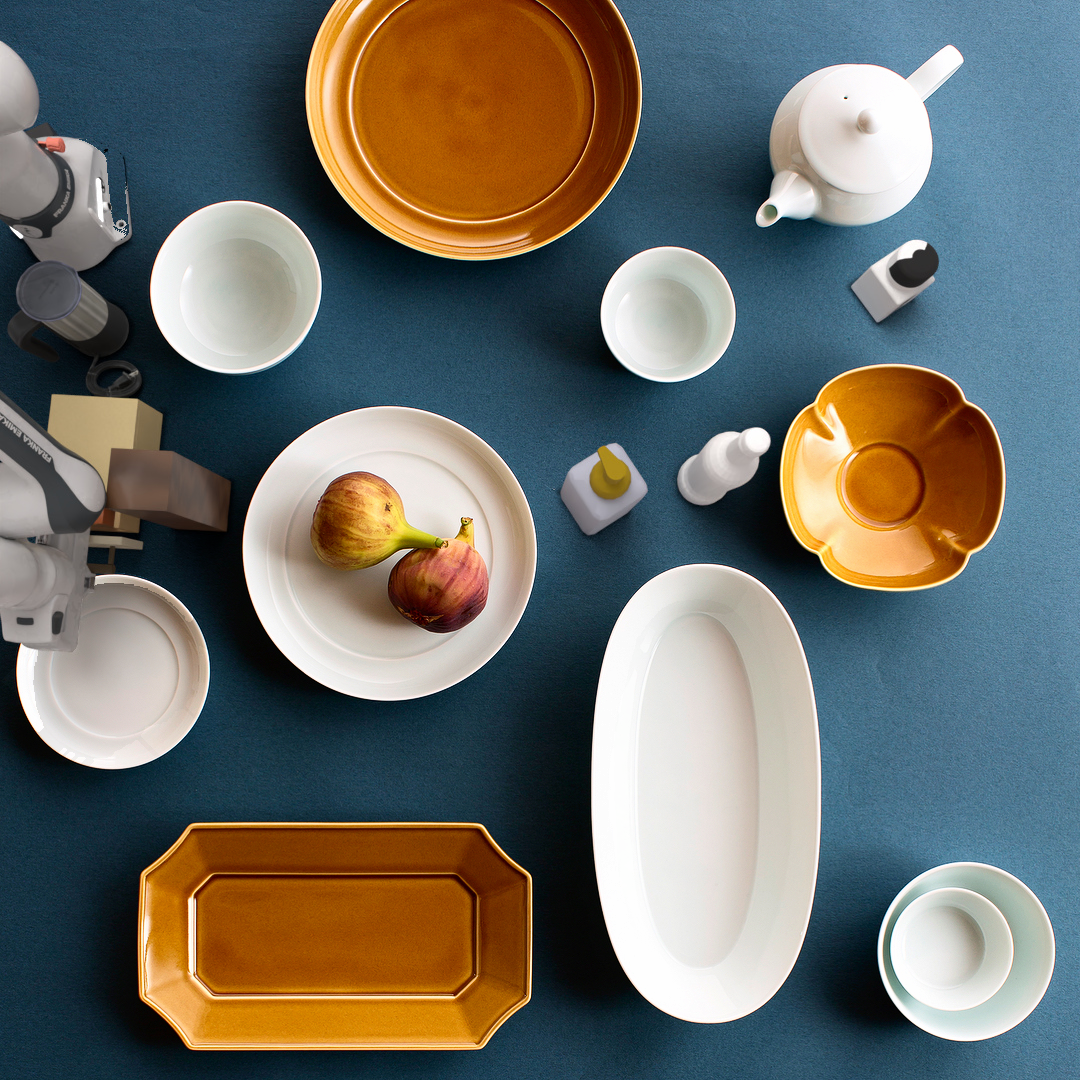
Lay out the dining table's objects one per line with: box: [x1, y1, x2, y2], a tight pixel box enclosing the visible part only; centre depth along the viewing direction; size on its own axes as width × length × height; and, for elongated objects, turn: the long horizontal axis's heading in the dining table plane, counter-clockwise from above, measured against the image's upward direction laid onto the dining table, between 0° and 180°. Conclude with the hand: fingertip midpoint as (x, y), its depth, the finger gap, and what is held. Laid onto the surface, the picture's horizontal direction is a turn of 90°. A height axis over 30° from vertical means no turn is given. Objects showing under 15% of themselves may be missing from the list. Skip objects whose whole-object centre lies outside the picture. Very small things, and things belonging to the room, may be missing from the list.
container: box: [850, 239, 940, 323], centre depth 127 cm, size 8×8×13 cm
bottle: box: [676, 427, 771, 506], centre depth 114 cm, size 8×8×30 cm
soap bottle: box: [559, 442, 649, 536], centre depth 115 cm, size 9×9×25 cm
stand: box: [105, 448, 232, 533], centre depth 114 cm, size 8×8×22 cm
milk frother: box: [7, 260, 143, 398], centre depth 119 cm, size 14×16×15 cm
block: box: [91, 508, 115, 528], centre depth 120 cm, size 4×4×5 cm
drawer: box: [86, 511, 144, 575], centre depth 120 cm, size 18×11×7 cm, turn 177°
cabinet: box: [47, 393, 164, 491], centre depth 121 cm, size 15×13×9 cm
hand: (90, 583), depth 119 cm, fingers closed
